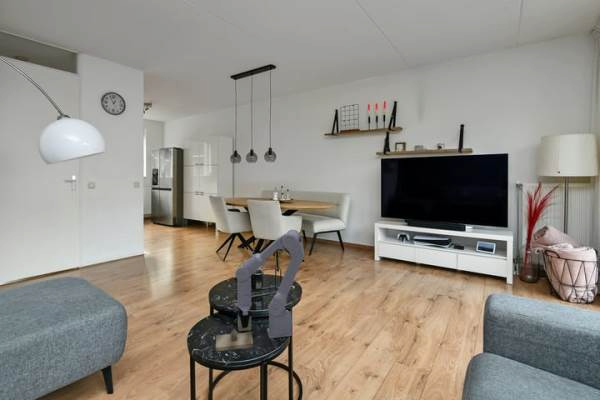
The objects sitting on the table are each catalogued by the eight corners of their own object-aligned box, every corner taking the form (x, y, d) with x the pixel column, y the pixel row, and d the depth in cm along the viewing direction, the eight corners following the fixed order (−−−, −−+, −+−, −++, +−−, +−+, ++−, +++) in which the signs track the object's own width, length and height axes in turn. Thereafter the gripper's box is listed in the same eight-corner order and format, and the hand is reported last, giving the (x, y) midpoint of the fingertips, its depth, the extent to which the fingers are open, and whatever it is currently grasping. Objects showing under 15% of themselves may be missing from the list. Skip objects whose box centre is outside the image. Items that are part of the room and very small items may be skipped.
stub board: (251, 335, 128) (251, 324, 128) (253, 347, 120) (253, 335, 119) (216, 339, 125) (216, 328, 125) (215, 351, 116) (215, 340, 116)
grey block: (250, 324, 136) (250, 312, 136) (251, 330, 131) (251, 317, 131) (238, 325, 135) (237, 313, 135) (238, 331, 130) (238, 318, 130)
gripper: (234, 287, 138) (234, 317, 139) (235, 300, 124) (235, 333, 125) (250, 286, 140) (250, 315, 141) (253, 299, 126) (253, 331, 127)
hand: (244, 324), depth 133 cm, fingers closed on grey block, 5 cm apart
